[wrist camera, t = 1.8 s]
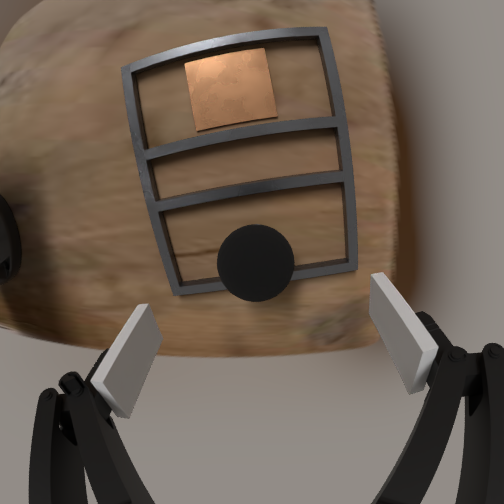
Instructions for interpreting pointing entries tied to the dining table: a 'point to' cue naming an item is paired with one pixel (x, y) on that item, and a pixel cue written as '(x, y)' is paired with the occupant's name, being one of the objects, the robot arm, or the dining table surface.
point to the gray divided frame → (240, 135)
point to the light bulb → (255, 263)
